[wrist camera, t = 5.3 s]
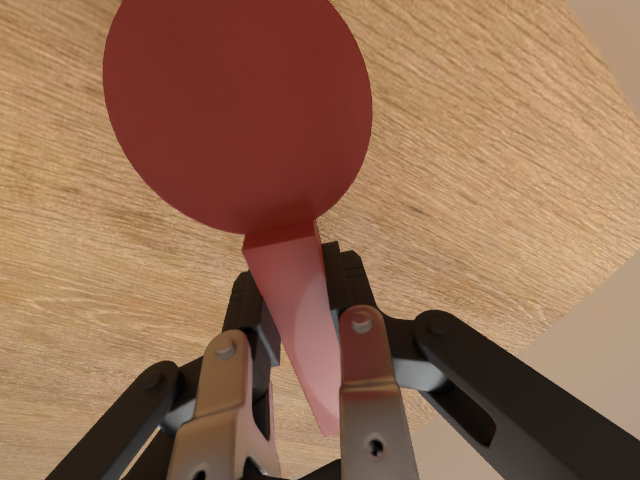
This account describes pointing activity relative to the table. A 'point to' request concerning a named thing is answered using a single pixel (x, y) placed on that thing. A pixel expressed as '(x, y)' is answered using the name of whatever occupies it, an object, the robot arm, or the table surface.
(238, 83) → the red flat paddle piece
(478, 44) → the table surface
